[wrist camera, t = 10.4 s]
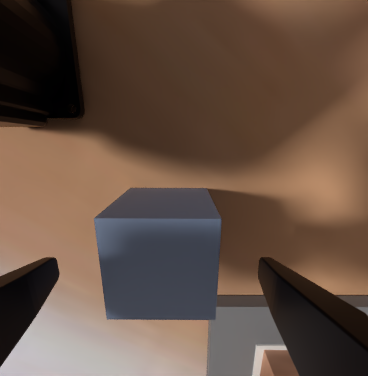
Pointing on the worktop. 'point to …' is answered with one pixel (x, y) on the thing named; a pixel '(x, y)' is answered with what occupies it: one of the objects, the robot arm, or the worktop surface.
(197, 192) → the blue cube
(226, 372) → the board
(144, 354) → the worktop surface
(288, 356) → the terracotta block
